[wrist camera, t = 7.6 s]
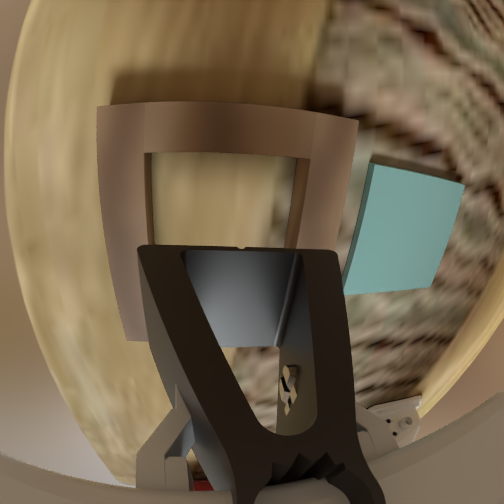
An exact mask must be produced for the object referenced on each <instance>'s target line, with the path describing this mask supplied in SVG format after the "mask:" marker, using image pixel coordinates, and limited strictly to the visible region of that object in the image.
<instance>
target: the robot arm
mask: <svg viewBox="0 0 504 504" xmlns="http://www.w3.org/2000/svg"><path fill="white" fill-rule="evenodd" d="M283 375H284V376H283V377H282V378H281V379H280V383H279V391H280V396H281V400H282V401H283V402H284V403H286V406H285V409H284V410H285V414H286V415H287V414H288V412H289V410H290V403H291V401H292V404H293V403H294V401H295V399H296V397H297V366H296V364H293V365H285V366H284V368H283ZM421 402H422V396H421V395H419V396H415V397H411V398H407V399H403V400H398V401H394V402H389V403H385V404H380V405H375V406H373V407H371V408H369V409H366V408H364V407H363V406H361V405H360V404H358V403H357V402H355V408H356V426H357V434H358V439H359V443H360V446H361V450H362V453H363V455H364V458H365V460H366V462H367V464H368V466H369V468H370V470H371V472H372V474H373V475H374V477H375V478H376V480H377V481H378V483H379V485H380V486H381V488H382V491H383V493H384V496H385V501H386V504H504V391H501V392H498V393H496V394H495V395H493V396H492V397H491V398H489V399H488V400H486V401H485V402H484V403H482V404H481V405H479V406H478V407H476V408H475V409H473V410H472V411H470V412H468V413H467V414H465V415H463V416H462V417H460V418H458V419H457V420H455V421H453V422H452V423H450V424H448V425H447V426H444V427H443V428H441V429H439V430H437V431H435V432H433V433H431V434H429V435H428V436H425V437H423V438H422V439H419V440H417V441H415V442H413V441H414V439H415V437H416V435H417V433H418V431H419V429H420V425H421V423H420V418H419V415H418V413H417V408H418V407H419V405H420V404H421ZM194 442H195V439H194V433H193V426H192V419H191V416H190V414H189V412H188V410H187V407H186V405H185V403H184V401H183V399H182V397H181V395H180V392H179V390H178V388H177V386H176V409H171V410H170V412H169V413H168V414H167V416H166V417H165V418H164V419H163V421H162V422H161V423H160V425H159V426H158V427H157V428H156V430H155V431H154V432H153V434H152V435H151V436H150V437H149V439H148V440H147V441H146V442H145V444H144V445H143V446H142V448H141V449H140V450H139V451H138V453H137V460H136V488H131V487H123V486H116V485H109V484H104V483H99V482H94V481H89V480H84V479H80V478H76V477H72V476H68V475H64V474H61V473H57V472H53V471H50V470H47V469H44V468H41V467H38V466H35V465H32V464H29V463H27V462H24V461H21V460H19V459H16V458H14V457H11V456H9V455H7V454H4V453H2V452H0V504H233V501H232V495H231V491H230V490H218V491H194V483H193V477H192V474H191V471H190V469H189V466H188V463H187V460H186V459H185V457H186V456H187V454H188V452H189V451H190V449H191V447H192V446H193V444H194ZM254 504H350V502H349V500H348V498H347V497H346V495H345V494H344V493H343V492H342V491H341V490H339V489H338V488H336V487H335V486H333V485H331V484H329V483H328V482H327V480H326V478H322V479H320V480H317V479H316V478H314V477H311V478H306V479H302V480H297V481H292V482H287V483H281V484H275V485H269V486H265V487H264V488H263V489H262V491H260V492H259V493H258V495H257V497H256V499H255V502H254Z"/></svg>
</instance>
